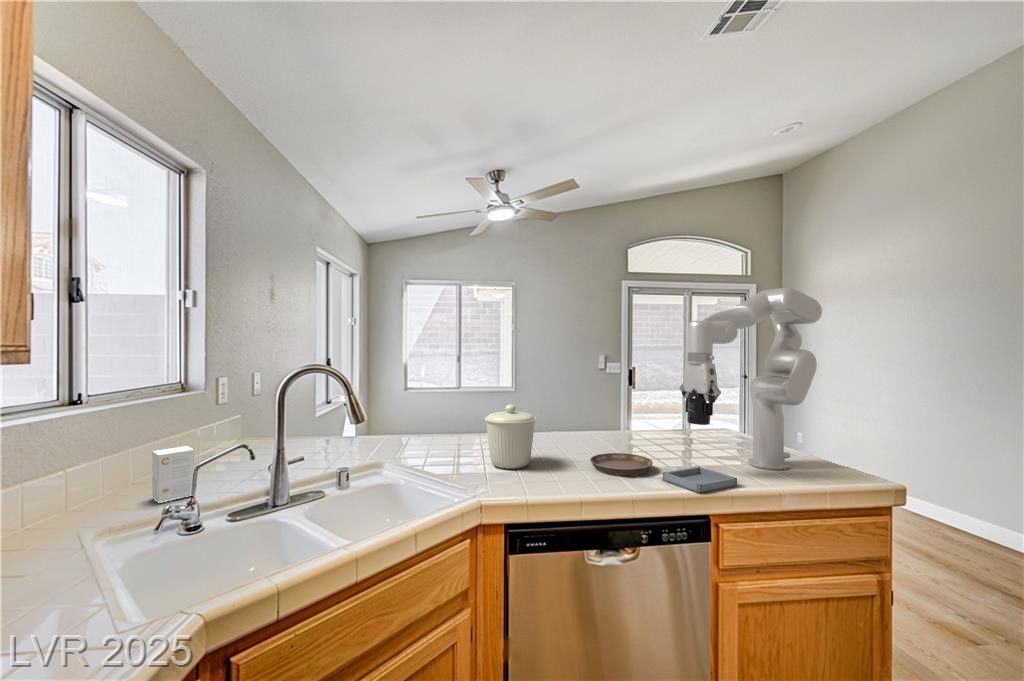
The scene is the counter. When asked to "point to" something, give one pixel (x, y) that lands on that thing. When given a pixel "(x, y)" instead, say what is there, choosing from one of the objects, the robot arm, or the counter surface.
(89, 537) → the counter surface
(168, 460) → the small box
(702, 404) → the supplement bottle
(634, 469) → the plant saucer
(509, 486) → the counter surface
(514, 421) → the canister
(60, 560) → the counter surface
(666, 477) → the tray
